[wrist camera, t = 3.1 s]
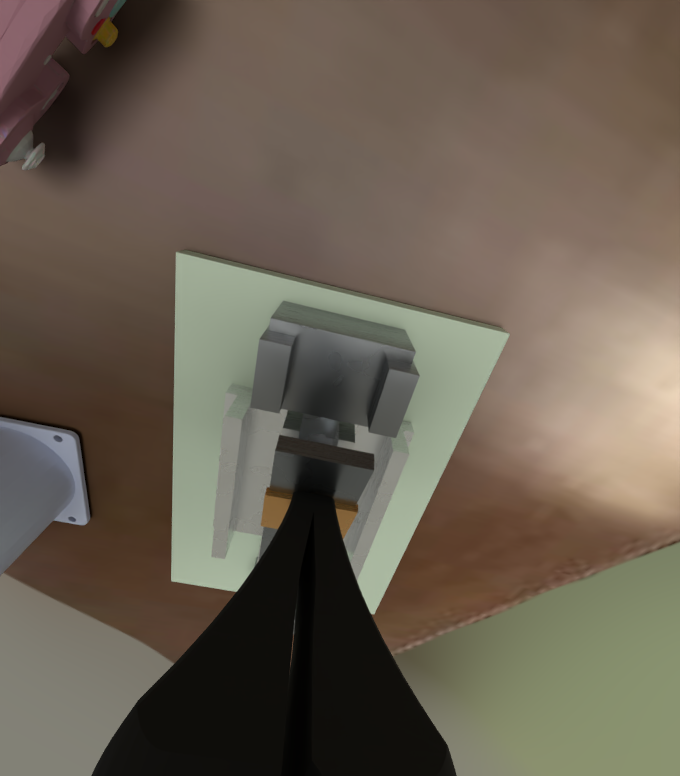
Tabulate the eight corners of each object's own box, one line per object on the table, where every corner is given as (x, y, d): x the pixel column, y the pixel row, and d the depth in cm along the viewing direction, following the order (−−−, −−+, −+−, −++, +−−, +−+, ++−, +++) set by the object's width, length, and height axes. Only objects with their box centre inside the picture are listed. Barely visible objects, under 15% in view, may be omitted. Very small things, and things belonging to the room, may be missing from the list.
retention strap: (253, 594, 22) (249, 608, 21) (276, 433, 10) (270, 455, 10) (302, 602, 22) (300, 617, 21) (377, 454, 11) (377, 476, 10)
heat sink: (218, 514, 23) (200, 555, 20) (231, 383, 18) (211, 412, 15) (364, 541, 24) (366, 583, 21) (411, 422, 19) (421, 456, 16)
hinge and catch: (238, 571, 25) (219, 633, 22) (281, 300, 16) (260, 326, 12) (320, 585, 26) (316, 648, 22) (407, 330, 17) (424, 364, 13)
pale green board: (177, 568, 27) (171, 581, 26) (185, 249, 16) (176, 251, 15) (373, 601, 28) (374, 614, 27) (501, 327, 17) (509, 334, 17)
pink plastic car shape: (48, 162, 16) (-12, 225, 12) (-95, 52, 13) (-255, 80, 8) (187, -26, 13) (179, -39, 9) (48, -232, 10) (-79, -422, 5)
